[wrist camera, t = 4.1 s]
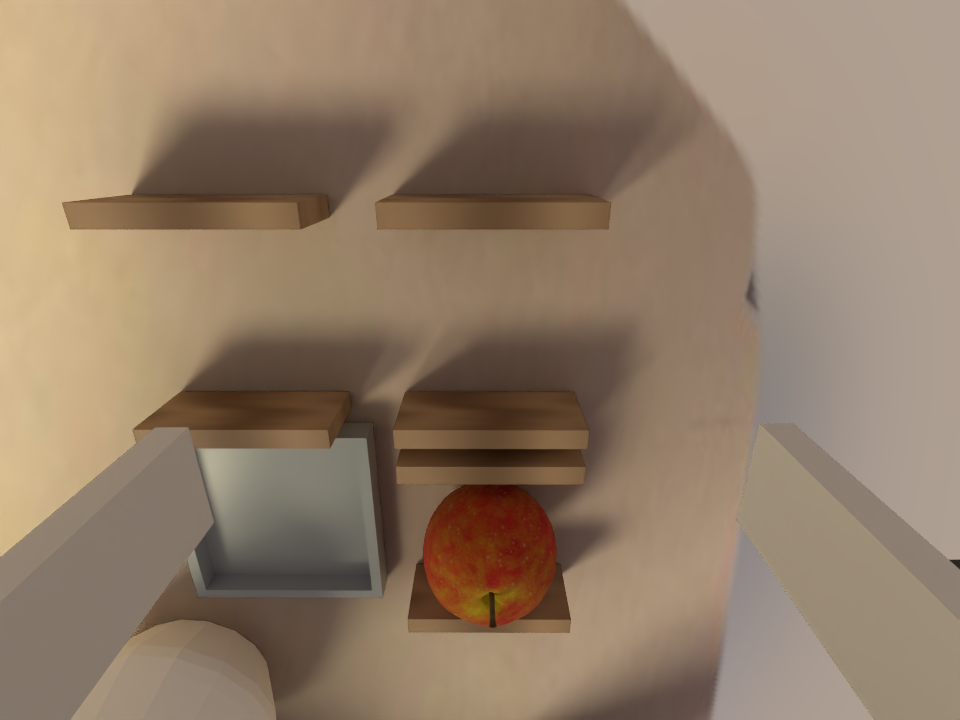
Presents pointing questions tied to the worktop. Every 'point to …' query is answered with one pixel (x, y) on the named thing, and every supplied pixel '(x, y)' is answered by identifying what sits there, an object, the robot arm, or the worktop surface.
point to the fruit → (489, 553)
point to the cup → (183, 677)
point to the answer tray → (293, 521)
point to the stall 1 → (228, 412)
